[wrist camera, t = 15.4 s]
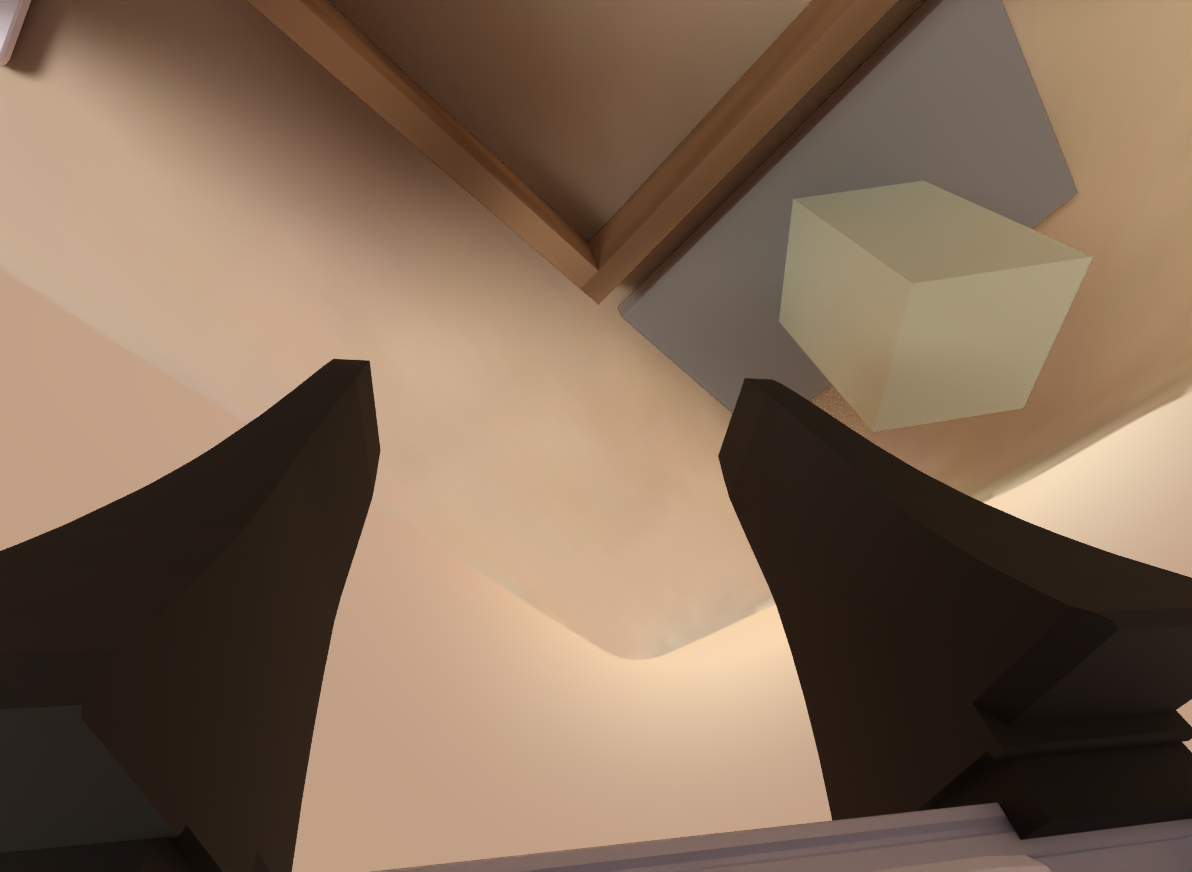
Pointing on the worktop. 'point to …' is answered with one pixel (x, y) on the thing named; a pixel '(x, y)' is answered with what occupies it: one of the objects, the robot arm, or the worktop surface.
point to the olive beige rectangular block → (923, 301)
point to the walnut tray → (667, 196)
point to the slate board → (857, 188)
